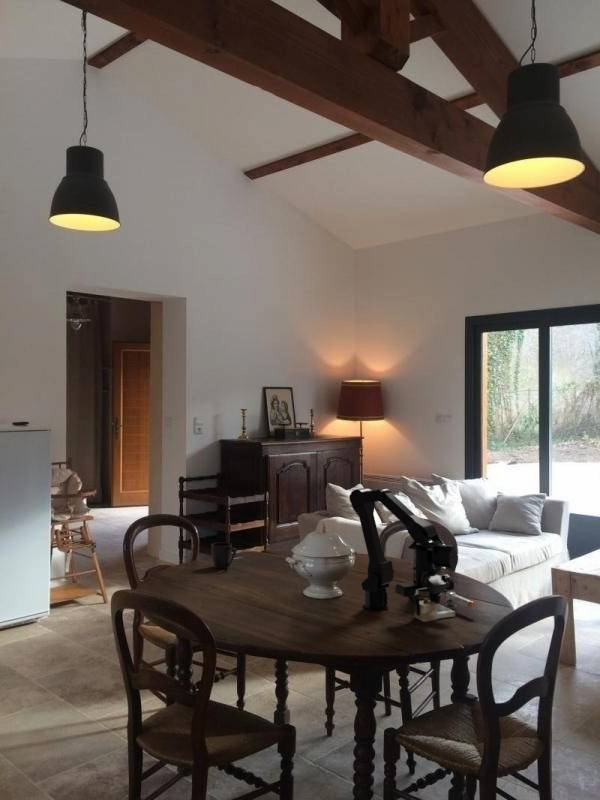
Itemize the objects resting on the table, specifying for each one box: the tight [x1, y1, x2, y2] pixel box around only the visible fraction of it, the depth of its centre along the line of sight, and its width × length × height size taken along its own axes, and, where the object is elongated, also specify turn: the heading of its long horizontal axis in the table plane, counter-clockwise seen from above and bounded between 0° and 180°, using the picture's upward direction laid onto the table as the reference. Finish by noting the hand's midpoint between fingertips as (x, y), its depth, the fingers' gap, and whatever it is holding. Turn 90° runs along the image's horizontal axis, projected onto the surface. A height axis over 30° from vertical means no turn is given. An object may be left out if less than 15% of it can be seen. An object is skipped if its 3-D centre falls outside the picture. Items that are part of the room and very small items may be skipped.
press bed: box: [437, 603, 456, 620], centre depth 224 cm, size 7×9×2 cm
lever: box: [445, 591, 477, 610], centre depth 226 cm, size 3×14×2 cm, turn 24°
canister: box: [412, 549, 443, 601], centre depth 241 cm, size 10×10×18 cm
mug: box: [210, 541, 237, 569], centre depth 285 cm, size 8×12×10 cm
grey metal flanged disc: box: [444, 599, 458, 610], centre depth 231 cm, size 4×4×2 cm
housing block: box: [414, 598, 438, 623], centre depth 219 cm, size 5×5×6 cm
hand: (425, 614), depth 219 cm, fingers open, 5 cm apart
